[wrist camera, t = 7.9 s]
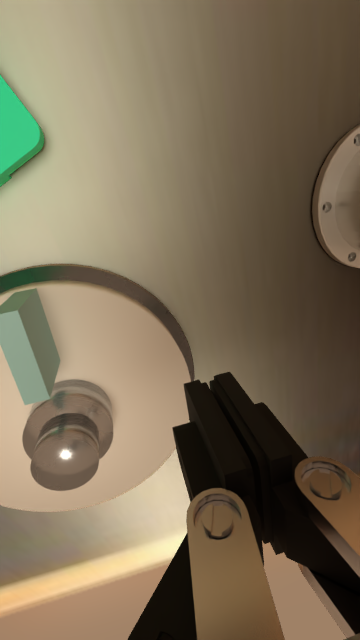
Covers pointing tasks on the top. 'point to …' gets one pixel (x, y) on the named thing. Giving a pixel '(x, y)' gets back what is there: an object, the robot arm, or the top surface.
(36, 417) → the cover
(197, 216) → the top surface
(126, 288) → the turntable base
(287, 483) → the robot arm
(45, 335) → the turntable
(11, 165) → the camera mount
